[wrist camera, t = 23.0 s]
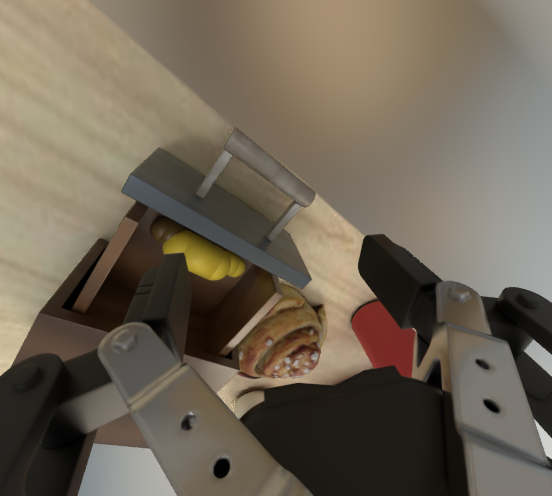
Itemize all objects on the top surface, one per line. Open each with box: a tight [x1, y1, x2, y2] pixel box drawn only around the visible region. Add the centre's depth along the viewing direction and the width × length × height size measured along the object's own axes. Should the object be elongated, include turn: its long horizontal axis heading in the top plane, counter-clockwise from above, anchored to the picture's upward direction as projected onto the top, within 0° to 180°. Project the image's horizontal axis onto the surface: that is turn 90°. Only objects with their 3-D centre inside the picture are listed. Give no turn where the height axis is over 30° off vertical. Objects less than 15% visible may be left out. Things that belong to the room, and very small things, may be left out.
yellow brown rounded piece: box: [150, 218, 245, 281], centre depth 22 cm, size 9×3×3 cm
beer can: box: [352, 301, 416, 378], centre depth 31 cm, size 7×7×12 cm
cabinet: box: [11, 239, 240, 449], centre depth 24 cm, size 15×15×9 cm
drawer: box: [70, 127, 316, 358], centre depth 20 cm, size 18×13×7 cm
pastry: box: [237, 284, 327, 379], centre depth 30 cm, size 13×15×8 cm
